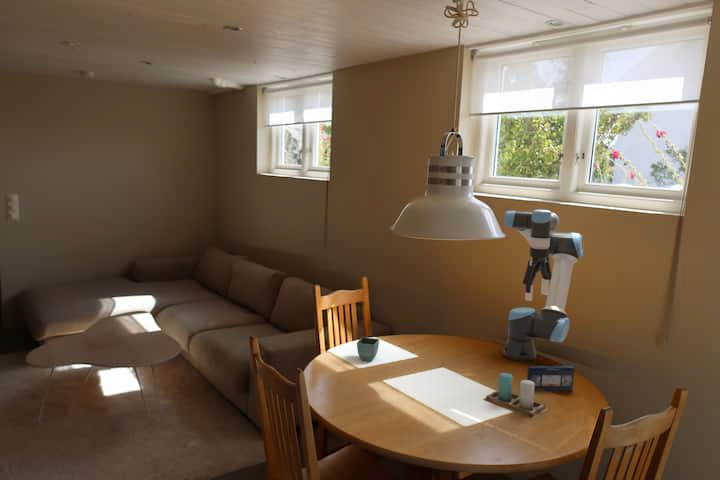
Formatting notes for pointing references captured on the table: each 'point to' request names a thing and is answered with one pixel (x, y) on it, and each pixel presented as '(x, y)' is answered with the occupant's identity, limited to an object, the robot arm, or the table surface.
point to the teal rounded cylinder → (505, 387)
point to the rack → (516, 405)
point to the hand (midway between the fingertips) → (536, 297)
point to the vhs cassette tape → (551, 377)
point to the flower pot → (367, 348)
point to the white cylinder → (526, 394)
